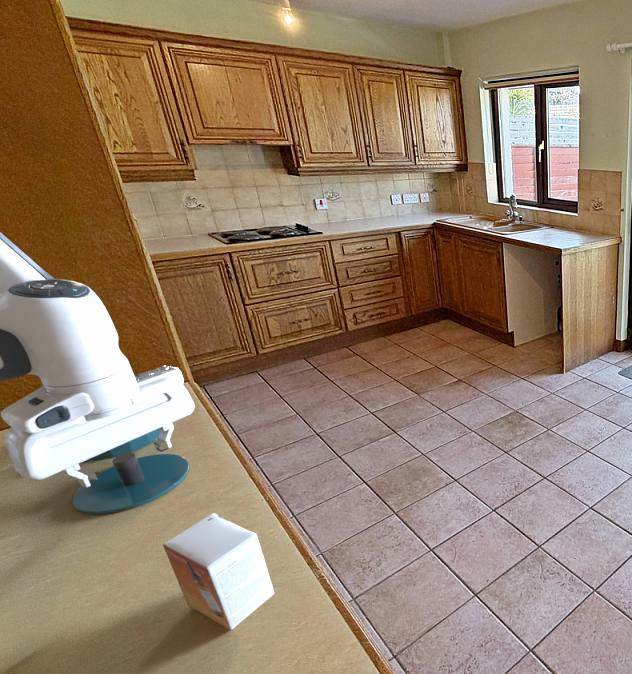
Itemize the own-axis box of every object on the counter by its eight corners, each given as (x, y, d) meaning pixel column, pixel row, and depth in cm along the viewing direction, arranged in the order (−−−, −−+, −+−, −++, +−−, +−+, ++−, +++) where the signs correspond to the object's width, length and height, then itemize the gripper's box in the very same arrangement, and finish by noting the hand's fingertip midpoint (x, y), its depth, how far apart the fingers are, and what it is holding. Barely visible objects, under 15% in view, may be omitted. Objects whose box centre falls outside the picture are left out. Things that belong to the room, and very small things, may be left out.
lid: (56, 500, 73) (40, 470, 70) (160, 451, 84) (150, 424, 82) (105, 530, 68) (90, 499, 66) (209, 473, 80) (199, 446, 77)
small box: (187, 606, 58) (159, 543, 54) (234, 571, 63) (212, 511, 59) (230, 632, 55) (205, 568, 51) (276, 593, 60) (256, 532, 56)
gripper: (165, 357, 79) (191, 426, 84) (-19, 418, 61) (29, 500, 67) (189, 365, 77) (213, 435, 82) (5, 431, 59) (52, 514, 65)
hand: (129, 465), depth 74 cm, fingers open, 8 cm apart
